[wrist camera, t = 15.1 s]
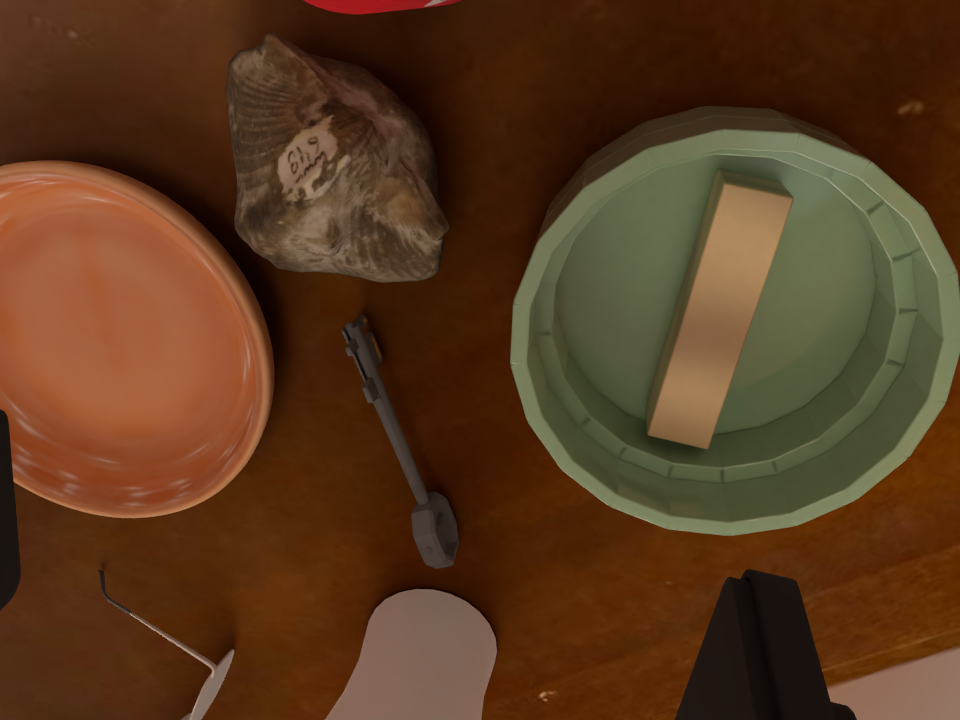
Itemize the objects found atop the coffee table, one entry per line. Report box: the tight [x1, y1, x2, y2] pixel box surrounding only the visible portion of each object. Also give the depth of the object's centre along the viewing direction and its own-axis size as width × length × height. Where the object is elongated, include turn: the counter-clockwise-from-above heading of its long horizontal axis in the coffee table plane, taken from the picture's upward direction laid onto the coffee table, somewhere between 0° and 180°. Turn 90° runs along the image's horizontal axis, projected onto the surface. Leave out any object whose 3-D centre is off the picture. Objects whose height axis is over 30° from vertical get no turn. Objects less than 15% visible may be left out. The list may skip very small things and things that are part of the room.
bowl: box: [510, 106, 960, 536], centre depth 31 cm, size 14×14×6 cm
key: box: [342, 315, 459, 569], centre depth 37 cm, size 12×1×3 cm, turn 19°
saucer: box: [0, 160, 275, 518], centre depth 37 cm, size 16×16×3 cm
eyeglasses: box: [98, 570, 234, 720], centre depth 46 cm, size 14×8×4 cm, turn 156°
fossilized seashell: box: [225, 33, 449, 283], centre depth 32 cm, size 8×7×10 cm
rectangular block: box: [646, 169, 794, 449], centre depth 32 cm, size 10×2×2 cm, turn 169°
